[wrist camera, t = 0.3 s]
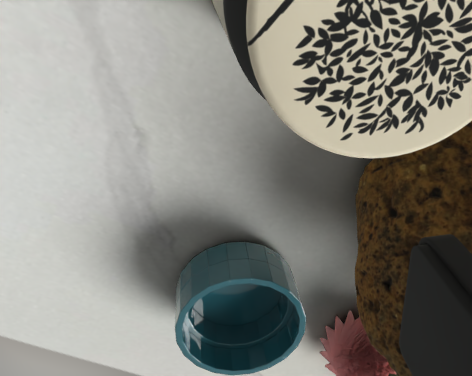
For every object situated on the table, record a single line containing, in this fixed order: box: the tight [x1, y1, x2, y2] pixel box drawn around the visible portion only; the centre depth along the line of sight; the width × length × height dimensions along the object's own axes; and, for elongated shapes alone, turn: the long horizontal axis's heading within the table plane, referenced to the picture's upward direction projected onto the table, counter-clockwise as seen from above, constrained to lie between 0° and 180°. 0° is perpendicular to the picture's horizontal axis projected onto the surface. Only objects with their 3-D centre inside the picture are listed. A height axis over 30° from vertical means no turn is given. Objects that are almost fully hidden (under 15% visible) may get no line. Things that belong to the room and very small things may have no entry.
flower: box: [320, 311, 396, 376], centre depth 39 cm, size 8×8×6 cm
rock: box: [355, 121, 472, 376], centre depth 30 cm, size 13×12×20 cm
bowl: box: [175, 242, 306, 375], centre depth 35 cm, size 10×10×5 cm
